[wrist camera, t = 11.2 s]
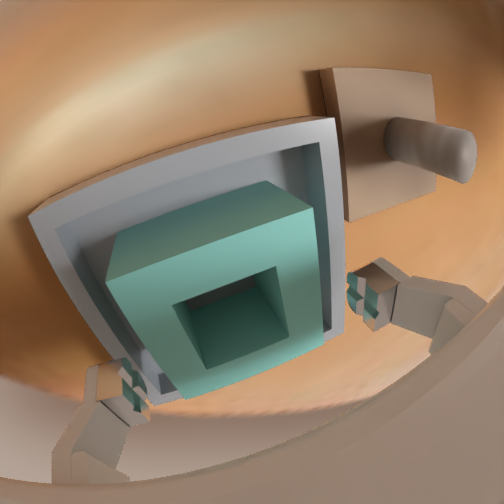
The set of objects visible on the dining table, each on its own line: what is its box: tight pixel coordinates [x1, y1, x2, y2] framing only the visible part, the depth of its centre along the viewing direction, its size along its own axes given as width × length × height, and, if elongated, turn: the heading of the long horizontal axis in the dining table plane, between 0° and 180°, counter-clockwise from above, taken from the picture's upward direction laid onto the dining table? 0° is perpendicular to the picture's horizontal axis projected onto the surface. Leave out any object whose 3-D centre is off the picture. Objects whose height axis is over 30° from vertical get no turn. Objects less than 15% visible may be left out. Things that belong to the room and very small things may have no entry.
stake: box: [319, 67, 477, 223], centre depth 10 cm, size 7×7×5 cm
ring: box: [105, 180, 324, 400], centre depth 10 cm, size 6×6×4 cm
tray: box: [28, 116, 345, 406], centre depth 11 cm, size 11×11×2 cm
